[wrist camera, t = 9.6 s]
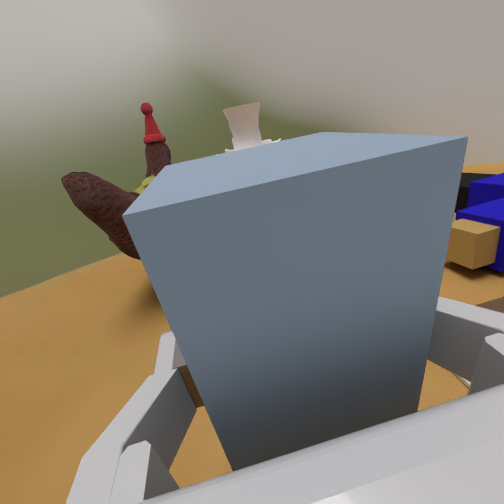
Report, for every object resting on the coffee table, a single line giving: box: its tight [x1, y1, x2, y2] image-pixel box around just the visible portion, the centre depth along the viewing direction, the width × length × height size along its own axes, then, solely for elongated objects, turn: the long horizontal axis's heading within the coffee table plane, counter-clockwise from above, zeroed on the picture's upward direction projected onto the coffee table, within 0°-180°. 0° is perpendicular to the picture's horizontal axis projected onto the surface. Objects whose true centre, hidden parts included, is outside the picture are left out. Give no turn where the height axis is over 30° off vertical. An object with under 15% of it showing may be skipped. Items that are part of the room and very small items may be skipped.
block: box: [122, 132, 468, 471], centre depth 8 cm, size 5×5×12 cm
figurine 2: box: [216, 102, 281, 155], centre depth 38 cm, size 10×8×18 cm
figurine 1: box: [61, 103, 172, 260], centre depth 28 cm, size 11×15×20 cm
